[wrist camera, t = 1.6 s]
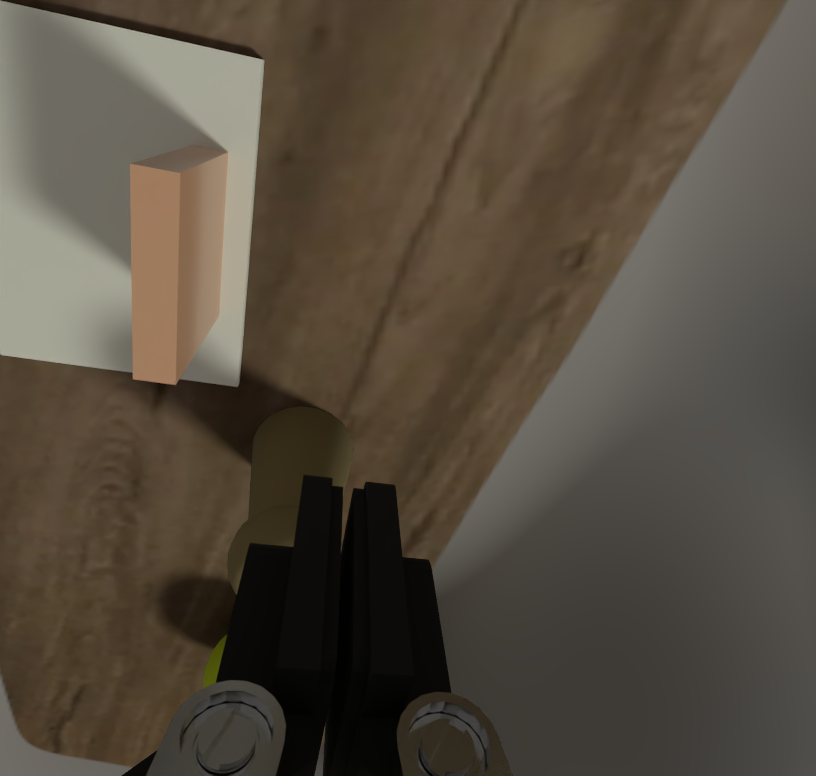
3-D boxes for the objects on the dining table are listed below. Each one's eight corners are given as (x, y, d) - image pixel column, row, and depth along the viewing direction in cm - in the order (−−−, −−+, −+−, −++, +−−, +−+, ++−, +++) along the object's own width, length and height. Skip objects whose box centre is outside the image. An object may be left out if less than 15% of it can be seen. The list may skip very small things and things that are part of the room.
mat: (-36, -8, 23) (-45, -10, 23) (264, 60, 25) (262, 59, 25) (6, 350, 30) (0, 354, 30) (239, 382, 32) (237, 387, 32)
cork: (242, 478, 35) (198, 626, 25) (264, 394, 33) (224, 522, 23) (338, 499, 36) (331, 648, 27) (366, 420, 34) (369, 552, 24)
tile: (188, 144, 26) (124, 162, 19) (228, 152, 26) (180, 173, 19) (184, 310, 29) (128, 378, 22) (219, 315, 30) (175, 384, 23)
